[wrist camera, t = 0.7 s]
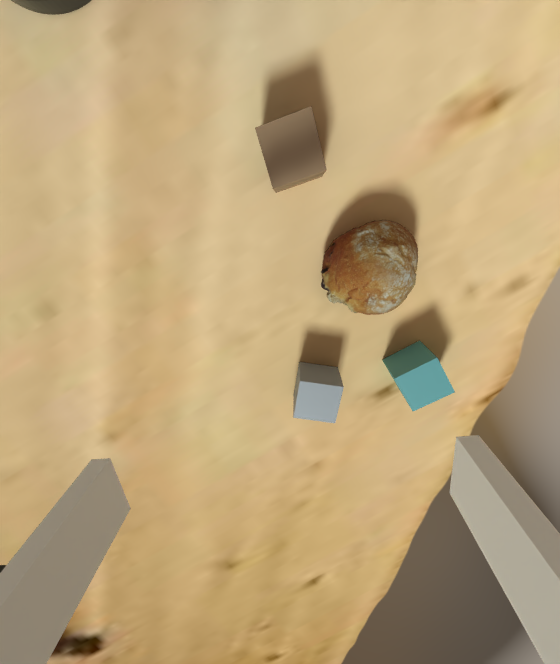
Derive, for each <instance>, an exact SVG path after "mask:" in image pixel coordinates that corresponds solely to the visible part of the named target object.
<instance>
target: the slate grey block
mask: <svg viewBox="0 0 560 664" xmlns="http://www.w3.org/2000/svg"><path fill="white" fill-rule="evenodd" d="M342 391H343V383H342V380H341V376H340V373H339V370H338V367H333V366H326V365H318V364H311V363H304V362H299V367H298V372H297V378H296V384H295V390H294V415H293V418H301V419H308V420H315V421H322V422H330V423H335V421H336V417H337V413H338V408H339V404H340V400H341V396H342Z"/></svg>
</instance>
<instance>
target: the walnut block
mask: <svg viewBox="0 0 560 664" xmlns="http://www.w3.org/2000/svg"><path fill="white" fill-rule="evenodd" d="M255 129H256V132H257V136H258V139H259V143H260V146H261V149H262V153H263V156H264V160H265V163H266V166H267V170H268V173H269V177H270V180H271V183H272V187H273V189H274V191H275V192H276V193H277V192H280V191H283V190H285V189H288V188H291V187H294V186H297V185H300V184H302V183H305V182H308V181H311V180H314V179H317V178H320V177H322V176H323V174H324V173H325V171H326V166H325V162H324V157H323V153H322V149H321V145H320V140H319V136H318V132H317V128H316V123H315V119H314V115H313V111H312V107H311V106H310V107H307V108H305V109H302V110H300V111H297V112H295V113H292V114H289V115H287V116H284V117H282V118H279V119H277V120H274V121H271V122H269V123H266V124H264V125H261V126H258V127H256V128H255Z"/></svg>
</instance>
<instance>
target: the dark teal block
mask: <svg viewBox="0 0 560 664" xmlns="http://www.w3.org/2000/svg"><path fill="white" fill-rule="evenodd" d="M383 362H384V364H385V365H386V367H387V369H388V370H389V372H390V374H391V376H392V377H393V379H394V381H395V383H396V384H397V386H398V388H399V389H400V391H401V393H402V394H403V396H404V398H405V399H406V401H407V403H408V404H409V406H410V407H411V409H412V411H415V410H417V409H419V408H422V407H424V406H426V405H428V404H430V403H432V402H435V401H437V400H439V399H441V398H443V397H445V396H448V395H450V394H452V393H454V390H453V388H452V386H451V384H450V382H449V380H448V378H447V376H446V374H445V372H444V370H443V368H442V366H441V364H440V362H439V360H438V358H437V357H436V356H435V355H434V354H433V353H432V352H431V351H430V350H429V349H428V348H427V347H426V346H425V345H424V344H423V343H422V342H421V341H418V342H416V343H414V344H412V345H410V346H408V347H406V348H404V349H402V350H400V351H398V352H396V353H394V354H392V355H390V356H389V357H387V358H385V359H383Z"/></svg>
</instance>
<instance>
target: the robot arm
mask: <svg viewBox="0 0 560 664" xmlns="http://www.w3.org/2000/svg"><path fill="white" fill-rule="evenodd" d="M11 1H13V2H15V3H16V4H18V5H20V6H22V7H24V8H26V9H29V10H32V11H35V12H39V13H43V14H64V13H68V12H72V11H74V10H77V9H79V8H81V7H83V6H84V5H86V4H87V3H89V2H90V1H91V0H11ZM450 494H451V496H452V498H453V500H454V502H455V504H456V505H457V507H458V509H459V511H460V513H461V514H462V516H463V518H464V520H465V522H466V523H467V525H468V527H469V528H470V531H471V532H472V534H473V536H474V538H475V540H476V541H477V543H478V545H479V547H480V549H481V550H482V552H483V554H484V556H485V558H486V560H487V561H488V563H489V565H490V567H491V569H492V570H493V572H494V574H495V576H496V577H497V579H498V581H499V583H500V585H501V587H502V588H503V590H504V592H505V594H506V596H507V597H508V599H509V601H510V603H511V605H512V606H513V608H514V610H515V612H516V614H517V615H518V617H519V619H520V621H521V623H522V624H523V626H524V628H525V630H526V632H527V634H528V635H529V637H530V639H531V641H532V643H533V644H534V646H535V648H536V650H537V651H538V653H539V655H540V657H541V659H542V661H543V662H544V664H560V534H559V532H558V531H557V530H556V529H555V528H554V526H553V525H552V524H551V523H550V522H549V520H548V519H547V518H546V517H545V516H544V514H543V513H542V512H541V511H540V509H539V508H538V507H537V506H536V505H535V503H534V502H533V501H532V500H531V498H530V497H529V496H528V495H527V494H526V492H525V491H524V490H523V489H522V488H521V486H520V485H519V484H518V483H517V481H516V480H515V479H514V478H513V477H512V475H511V474H510V473H509V472H508V471H507V470H506V468H505V467H504V466H503V464H501V462H500V461H499V460H498V458H497V457H496V456H495V455H494V454H493V452H492V451H491V450H490V449H489V447H488V446H487V445H486V444H485V443H484V442H483V440H482V439H481V438H480V437H479V436H462V437H456V444H455V453H454V461H453V469H452V478H451V486H450ZM130 509H131V508H130V506H129V503H128V501H127V499H126V496H125V494H124V491H123V489H122V486H121V484H120V481H119V479H118V476H117V474H116V472H115V469H114V467H113V464H112V462H111V459H110V458H108V459H92V460H91V461H90V462H89V463H88V465H87V466H86V467H85V468H84V470H83V471H82V472H81V473H80V475H79V476H78V477H77V478H76V480H75V481H74V482H73V483H72V485H71V486H70V487H69V488H68V490H67V491H66V492H65V493H64V495H63V496H62V497H61V498H60V499H59V501H58V502H57V503H56V504H55V506H54V507H53V508H52V509H51V511H50V512H49V513H48V514H47V516H46V517H45V518H44V519H43V521H42V522H41V523H40V524H39V526H38V527H37V528H36V529H35V531H34V532H33V533H32V534H31V536H30V537H29V538H28V539H27V540H26V542H25V543H24V544H23V545H22V547H21V548H20V549H19V550H18V552H17V553H16V554H15V555H14V557H13V558H12V559H11V560H10V562H9V563H8V564H7V565H0V664H46V663H47V661H48V659H49V658H50V656H51V654H52V652H53V650H54V648H55V647H56V645H57V643H58V641H59V639H60V637H61V635H62V634H63V632H64V630H65V628H66V626H67V624H68V623H69V621H70V619H71V617H72V615H73V613H74V612H75V610H76V608H77V606H78V604H79V602H80V601H81V599H82V597H83V595H84V593H85V591H86V589H87V588H88V586H89V584H90V582H91V580H92V578H93V577H94V575H95V573H96V571H97V569H98V567H99V566H100V564H101V562H102V560H103V558H104V556H105V555H106V553H107V551H108V549H109V547H110V545H111V543H112V542H113V540H114V538H115V536H116V534H117V532H118V531H119V529H120V527H121V525H122V523H123V521H124V520H125V518H126V516H127V514H128V512H129V510H130Z"/></svg>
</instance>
